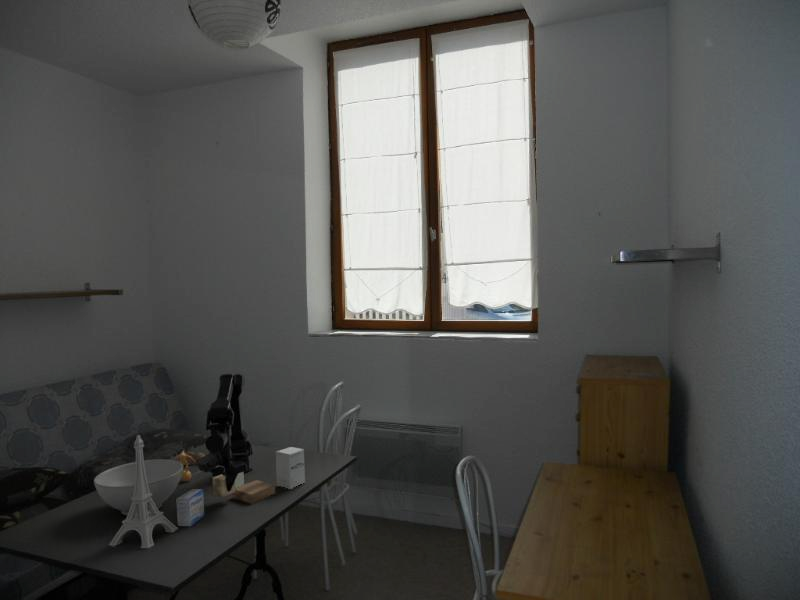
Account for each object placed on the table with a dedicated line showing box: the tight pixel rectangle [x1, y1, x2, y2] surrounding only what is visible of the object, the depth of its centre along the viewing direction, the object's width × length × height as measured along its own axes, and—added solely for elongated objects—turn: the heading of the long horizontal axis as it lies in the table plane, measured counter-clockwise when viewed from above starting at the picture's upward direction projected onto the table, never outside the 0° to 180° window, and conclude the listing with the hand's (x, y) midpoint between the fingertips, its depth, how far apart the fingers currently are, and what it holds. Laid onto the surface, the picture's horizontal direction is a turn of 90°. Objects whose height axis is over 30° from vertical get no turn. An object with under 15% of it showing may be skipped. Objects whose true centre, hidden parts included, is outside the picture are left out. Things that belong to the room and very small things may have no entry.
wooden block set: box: [178, 450, 232, 466], centre depth 231 cm, size 17×6×18 cm
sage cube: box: [235, 472, 245, 488], centre depth 204 cm, size 5×5×5 cm
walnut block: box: [232, 479, 276, 505], centre depth 194 cm, size 10×10×4 cm
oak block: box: [212, 475, 235, 497], centre depth 189 cm, size 5×5×6 cm
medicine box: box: [175, 488, 205, 527], centre depth 175 cm, size 8×4×9 cm, turn 168°
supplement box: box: [275, 446, 306, 490], centre depth 203 cm, size 7×7×13 cm
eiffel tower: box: [108, 434, 179, 548], centre depth 165 cm, size 13×13×30 cm
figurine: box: [172, 450, 195, 483], centre depth 211 cm, size 8×6×12 cm
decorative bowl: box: [93, 458, 184, 516], centre depth 187 cm, size 27×27×12 cm
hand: (224, 489), depth 189 cm, fingers closed on oak block, 5 cm apart
